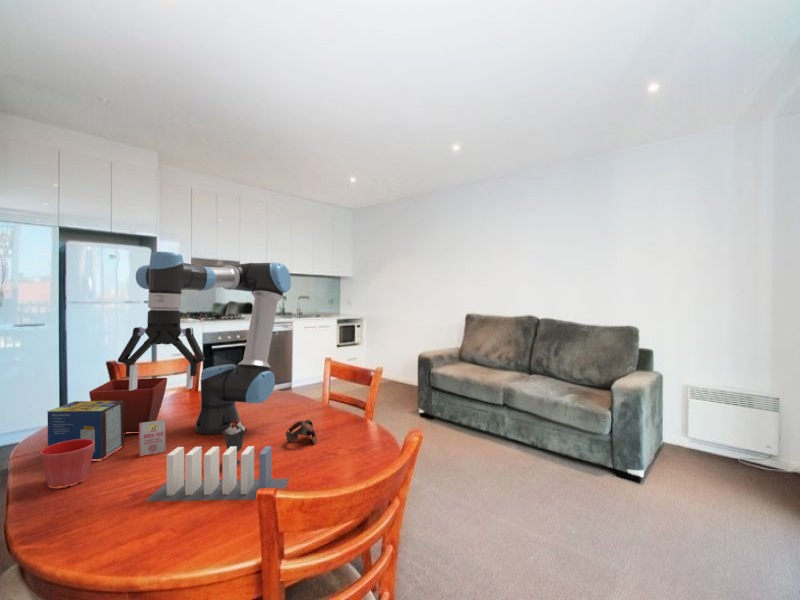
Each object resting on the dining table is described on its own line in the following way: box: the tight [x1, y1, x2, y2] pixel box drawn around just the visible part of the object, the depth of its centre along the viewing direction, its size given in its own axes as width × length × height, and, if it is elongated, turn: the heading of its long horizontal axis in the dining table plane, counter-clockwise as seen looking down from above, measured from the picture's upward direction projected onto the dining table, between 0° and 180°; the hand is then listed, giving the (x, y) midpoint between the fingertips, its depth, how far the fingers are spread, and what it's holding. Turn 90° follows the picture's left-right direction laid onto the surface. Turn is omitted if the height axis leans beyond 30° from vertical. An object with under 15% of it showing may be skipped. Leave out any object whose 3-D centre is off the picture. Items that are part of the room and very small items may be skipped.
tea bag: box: [138, 419, 166, 456], centre depth 117 cm, size 4×7×10 cm, turn 121°
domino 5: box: [240, 445, 255, 494], centre depth 95 cm, size 5×2×10 cm, turn 3°
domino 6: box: [258, 445, 273, 489], centre depth 96 cm, size 5×2×10 cm, turn 3°
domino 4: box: [221, 446, 238, 494], centre depth 95 cm, size 5×2×10 cm, turn 3°
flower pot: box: [39, 439, 95, 487], centre depth 99 cm, size 11×11×10 cm
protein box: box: [47, 400, 125, 459], centre depth 115 cm, size 10×15×16 cm
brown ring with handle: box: [285, 419, 318, 446], centre depth 128 cm, size 12×10×8 cm
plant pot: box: [88, 377, 168, 433], centre depth 137 cm, size 19×19×17 cm
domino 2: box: [184, 446, 203, 495], centre depth 95 cm, size 5×2×10 cm, turn 3°
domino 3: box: [203, 446, 220, 495], centre depth 95 cm, size 5×2×10 cm, turn 3°
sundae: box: [221, 416, 248, 466], centre depth 110 cm, size 7×7×15 cm
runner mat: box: [144, 478, 290, 502], centre depth 95 cm, size 10×32×1 cm, turn 93°
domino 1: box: [166, 446, 185, 495], centre depth 94 cm, size 5×2×10 cm, turn 3°
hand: (161, 389), depth 100 cm, fingers open, 13 cm apart
